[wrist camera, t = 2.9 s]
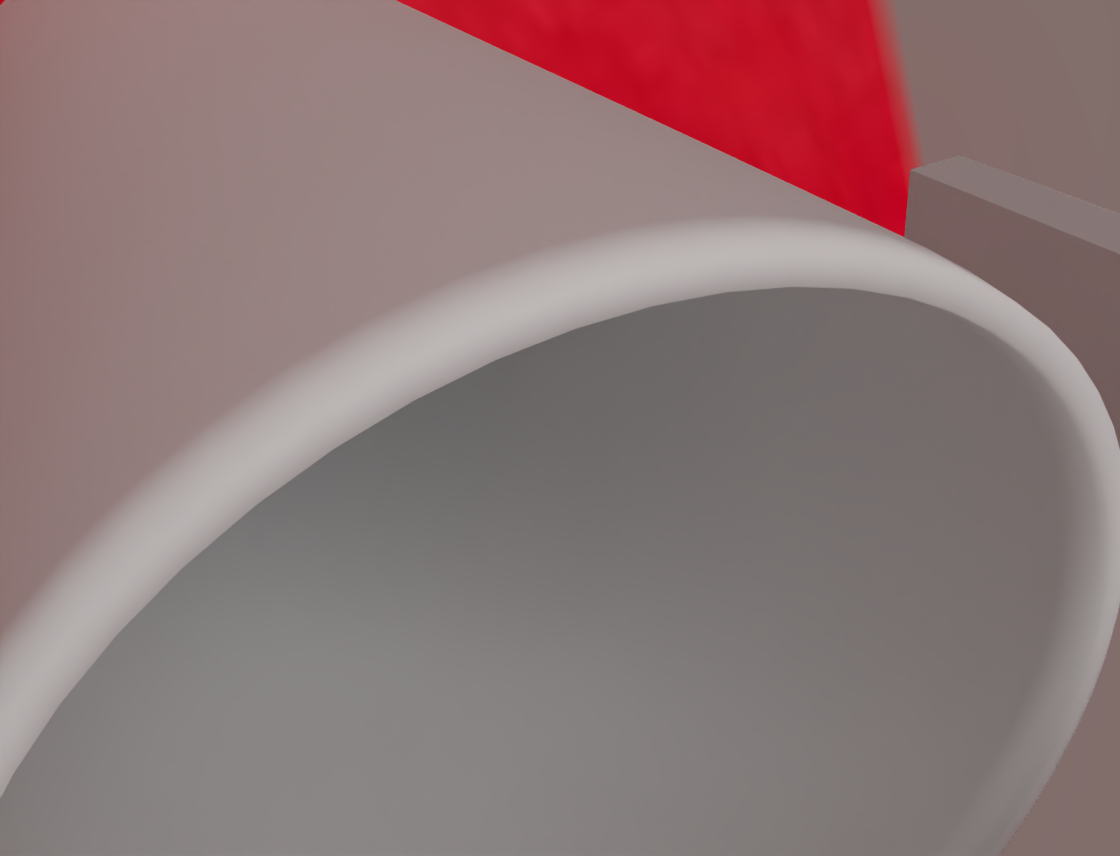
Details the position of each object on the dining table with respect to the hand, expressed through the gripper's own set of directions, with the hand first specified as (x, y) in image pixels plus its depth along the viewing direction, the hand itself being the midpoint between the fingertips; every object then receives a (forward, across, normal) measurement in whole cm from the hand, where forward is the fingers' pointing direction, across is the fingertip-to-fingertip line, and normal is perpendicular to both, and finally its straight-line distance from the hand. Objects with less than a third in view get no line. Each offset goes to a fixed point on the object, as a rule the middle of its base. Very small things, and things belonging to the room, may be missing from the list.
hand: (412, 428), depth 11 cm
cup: (+10, -1, 0) cm, 10 cm away
